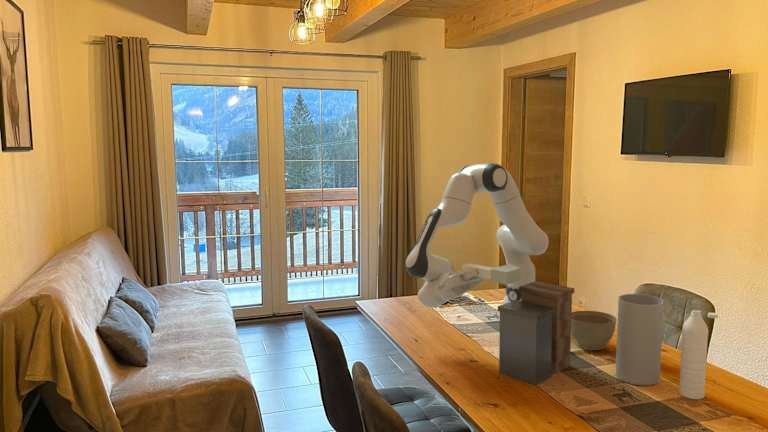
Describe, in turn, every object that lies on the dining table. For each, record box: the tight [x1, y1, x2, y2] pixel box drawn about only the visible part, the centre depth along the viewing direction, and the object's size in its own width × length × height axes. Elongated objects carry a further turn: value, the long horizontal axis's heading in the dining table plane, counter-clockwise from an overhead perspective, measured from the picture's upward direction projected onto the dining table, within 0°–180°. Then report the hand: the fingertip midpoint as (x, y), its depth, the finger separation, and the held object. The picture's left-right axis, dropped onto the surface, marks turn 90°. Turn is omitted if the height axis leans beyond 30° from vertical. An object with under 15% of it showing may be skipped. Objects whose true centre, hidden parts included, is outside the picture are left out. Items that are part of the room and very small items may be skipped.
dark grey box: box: [497, 300, 555, 386], centre depth 180 cm, size 10×14×22 cm
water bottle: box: [678, 309, 719, 400], centre depth 163 cm, size 9×6×25 cm
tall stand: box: [519, 280, 575, 375], centre depth 188 cm, size 10×14×26 cm
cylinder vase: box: [615, 293, 664, 386], centre depth 176 cm, size 12×12×25 cm
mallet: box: [461, 262, 521, 286], centre depth 187 cm, size 8×19×4 cm, turn 44°
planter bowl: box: [571, 310, 618, 351], centre depth 204 cm, size 16×16×11 cm
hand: (482, 270), depth 189 cm, fingers closed on mallet, 4 cm apart
